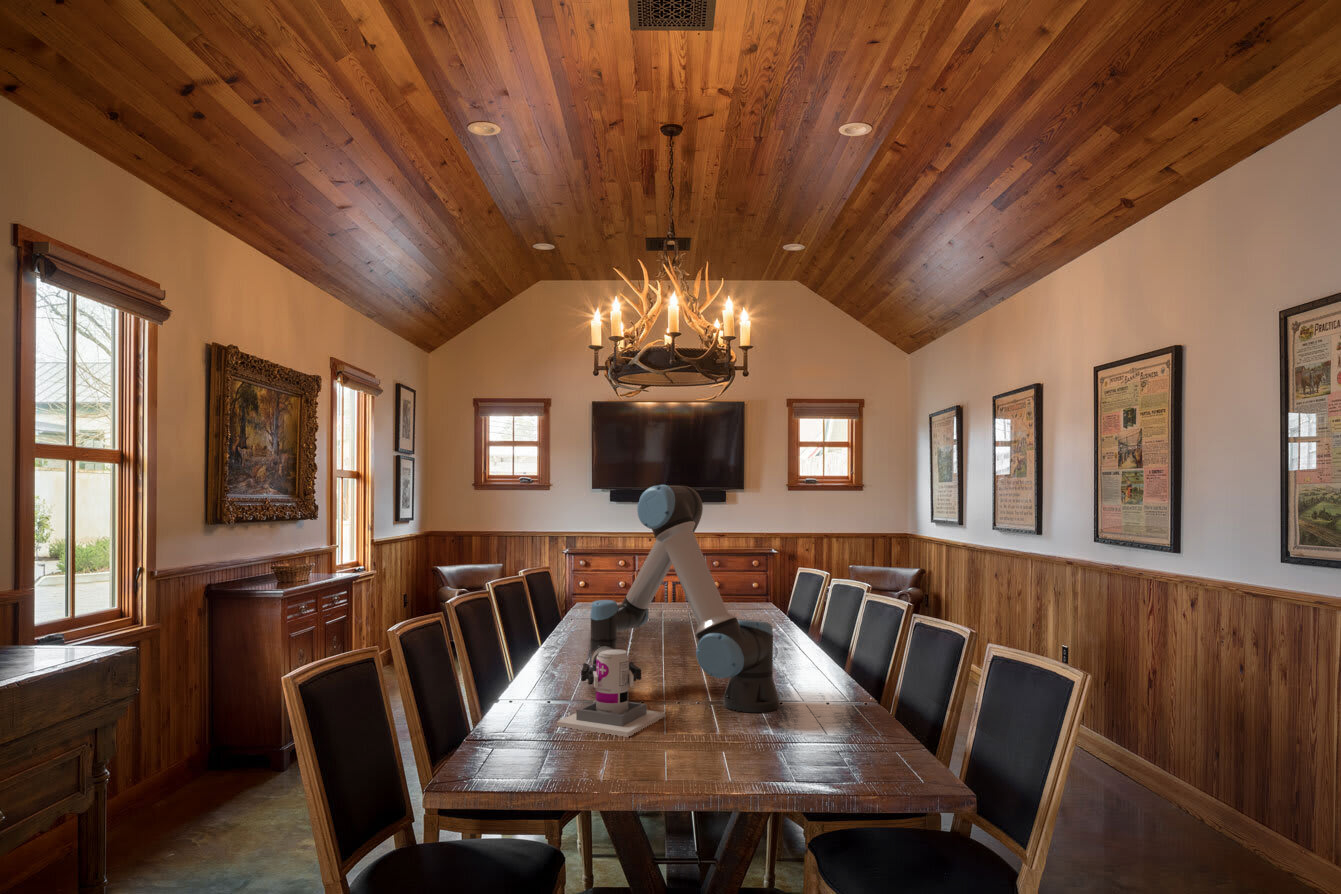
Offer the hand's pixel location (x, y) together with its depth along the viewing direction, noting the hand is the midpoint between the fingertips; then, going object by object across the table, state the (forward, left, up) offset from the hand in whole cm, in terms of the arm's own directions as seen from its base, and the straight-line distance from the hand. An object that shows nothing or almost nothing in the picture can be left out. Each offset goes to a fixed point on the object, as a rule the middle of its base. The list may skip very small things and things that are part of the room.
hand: (614, 681), depth 205 cm
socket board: (+3, -4, -11) cm, 12 cm away
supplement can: (+3, -4, -9) cm, 10 cm away
